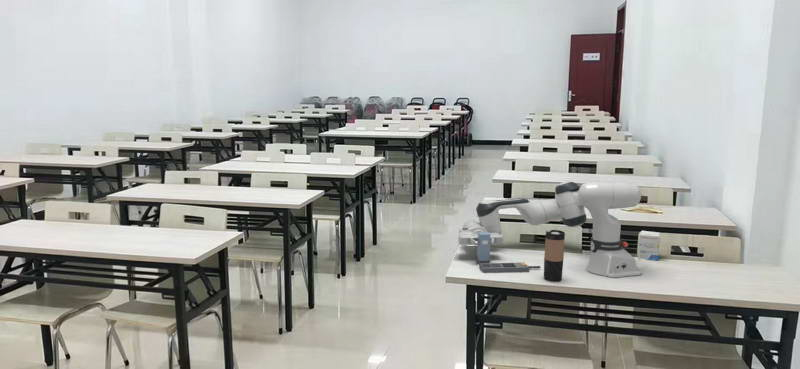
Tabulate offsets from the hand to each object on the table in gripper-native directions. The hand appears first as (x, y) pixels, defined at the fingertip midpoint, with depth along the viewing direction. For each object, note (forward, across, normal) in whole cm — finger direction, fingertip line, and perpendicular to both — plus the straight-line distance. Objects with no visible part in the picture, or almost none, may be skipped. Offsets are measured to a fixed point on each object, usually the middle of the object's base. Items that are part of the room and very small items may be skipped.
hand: (484, 243), depth 260 cm
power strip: (+8, -10, -10) cm, 16 cm away
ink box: (-6, -80, -10) cm, 81 cm away
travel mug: (+21, -24, -10) cm, 33 cm away
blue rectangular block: (-1, 0, -10) cm, 10 cm away
